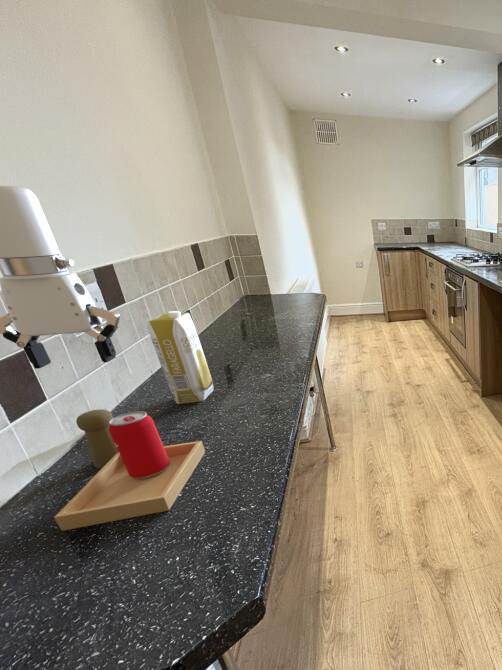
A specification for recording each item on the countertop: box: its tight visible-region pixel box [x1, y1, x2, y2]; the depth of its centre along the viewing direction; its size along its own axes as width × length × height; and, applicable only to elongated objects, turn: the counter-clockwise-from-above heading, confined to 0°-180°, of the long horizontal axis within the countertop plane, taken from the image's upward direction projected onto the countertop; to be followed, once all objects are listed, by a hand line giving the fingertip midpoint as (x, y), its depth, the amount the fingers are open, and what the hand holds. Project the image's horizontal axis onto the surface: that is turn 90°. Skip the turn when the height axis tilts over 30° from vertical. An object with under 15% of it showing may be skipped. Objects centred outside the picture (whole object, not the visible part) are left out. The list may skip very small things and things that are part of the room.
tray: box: [53, 440, 206, 532], centre depth 76 cm, size 15×20×3 cm
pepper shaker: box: [75, 408, 119, 469], centre depth 83 cm, size 6×6×11 cm
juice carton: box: [146, 310, 215, 405], centre depth 108 cm, size 9×8×24 cm
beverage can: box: [109, 410, 170, 479], centre depth 78 cm, size 6×6×12 cm
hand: (77, 362), depth 75 cm, fingers open, 9 cm apart
